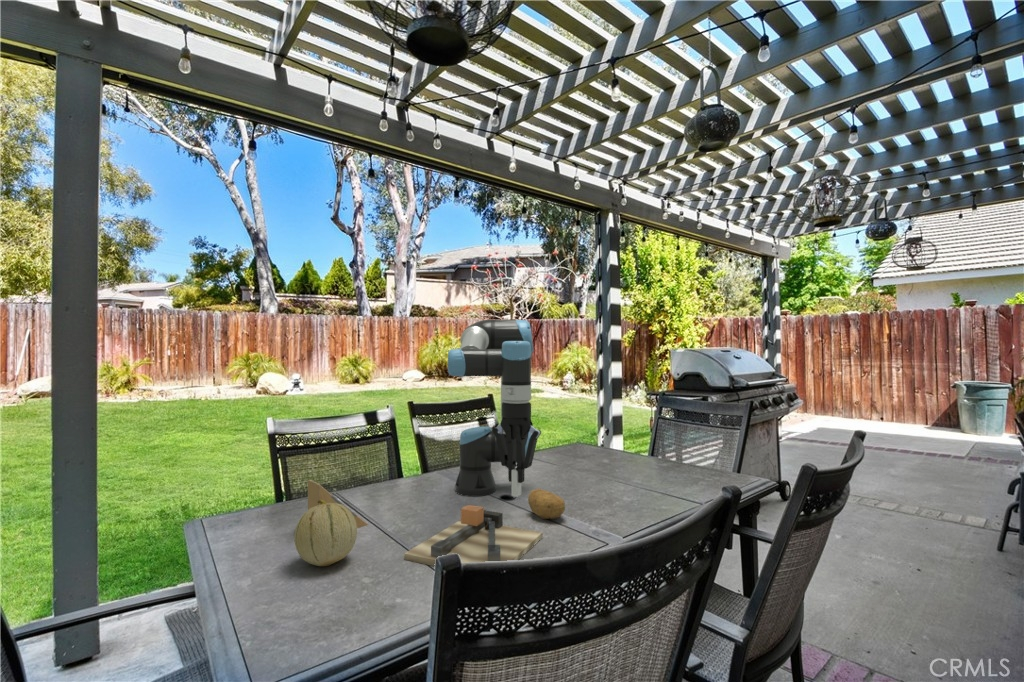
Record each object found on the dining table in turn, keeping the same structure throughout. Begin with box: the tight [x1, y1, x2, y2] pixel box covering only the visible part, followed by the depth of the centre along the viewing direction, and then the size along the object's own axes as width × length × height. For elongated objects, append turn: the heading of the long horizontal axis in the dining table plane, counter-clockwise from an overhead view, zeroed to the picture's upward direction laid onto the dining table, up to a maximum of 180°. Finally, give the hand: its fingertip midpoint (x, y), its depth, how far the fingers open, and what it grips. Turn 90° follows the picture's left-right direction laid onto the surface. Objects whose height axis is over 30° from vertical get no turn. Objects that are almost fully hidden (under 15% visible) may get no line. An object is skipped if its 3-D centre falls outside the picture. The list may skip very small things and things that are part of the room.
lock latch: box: [460, 504, 485, 526], centre depth 138 cm, size 4×5×4 cm
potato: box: [527, 488, 566, 520], centre depth 154 cm, size 10×14×8 cm
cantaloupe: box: [293, 500, 358, 567], centre depth 121 cm, size 15×15×15 cm
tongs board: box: [403, 509, 544, 567], centre depth 130 cm, size 28×26×5 cm
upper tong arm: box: [485, 517, 500, 561], centre depth 129 cm, size 24×4×3 cm, turn 2°
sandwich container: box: [307, 479, 369, 529], centre depth 145 cm, size 9×15×15 cm, turn 134°
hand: (516, 494), depth 124 cm, fingers closed
